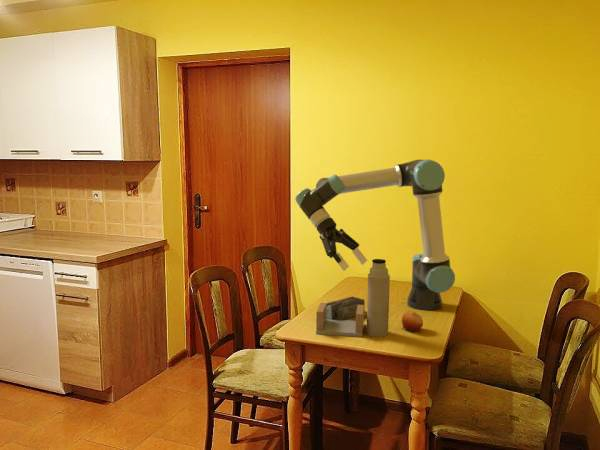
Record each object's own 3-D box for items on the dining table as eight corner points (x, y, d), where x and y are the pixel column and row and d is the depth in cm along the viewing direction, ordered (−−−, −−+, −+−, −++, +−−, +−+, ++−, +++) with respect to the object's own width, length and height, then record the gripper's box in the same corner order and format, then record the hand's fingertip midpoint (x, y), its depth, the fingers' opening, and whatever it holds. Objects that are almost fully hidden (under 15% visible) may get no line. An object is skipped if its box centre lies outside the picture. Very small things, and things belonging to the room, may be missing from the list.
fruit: (403, 320, 203) (413, 305, 200) (418, 334, 200) (429, 319, 196) (393, 325, 197) (403, 310, 193) (408, 340, 193) (419, 324, 190)
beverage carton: (318, 318, 211) (318, 302, 210) (352, 309, 223) (352, 294, 222) (331, 323, 205) (332, 307, 204) (365, 314, 217) (366, 298, 216)
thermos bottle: (388, 330, 196) (390, 258, 192) (387, 337, 188) (389, 262, 184) (367, 328, 198) (369, 257, 194) (365, 335, 190) (367, 261, 186)
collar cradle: (363, 324, 203) (364, 304, 201) (361, 336, 189) (362, 315, 188) (320, 321, 205) (320, 301, 204) (315, 333, 192) (316, 312, 191)
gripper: (335, 225, 214) (365, 265, 207) (298, 232, 194) (331, 277, 187) (346, 213, 210) (377, 254, 203) (310, 219, 190) (344, 265, 183)
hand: (355, 265), depth 195 cm, fingers open, 13 cm apart
